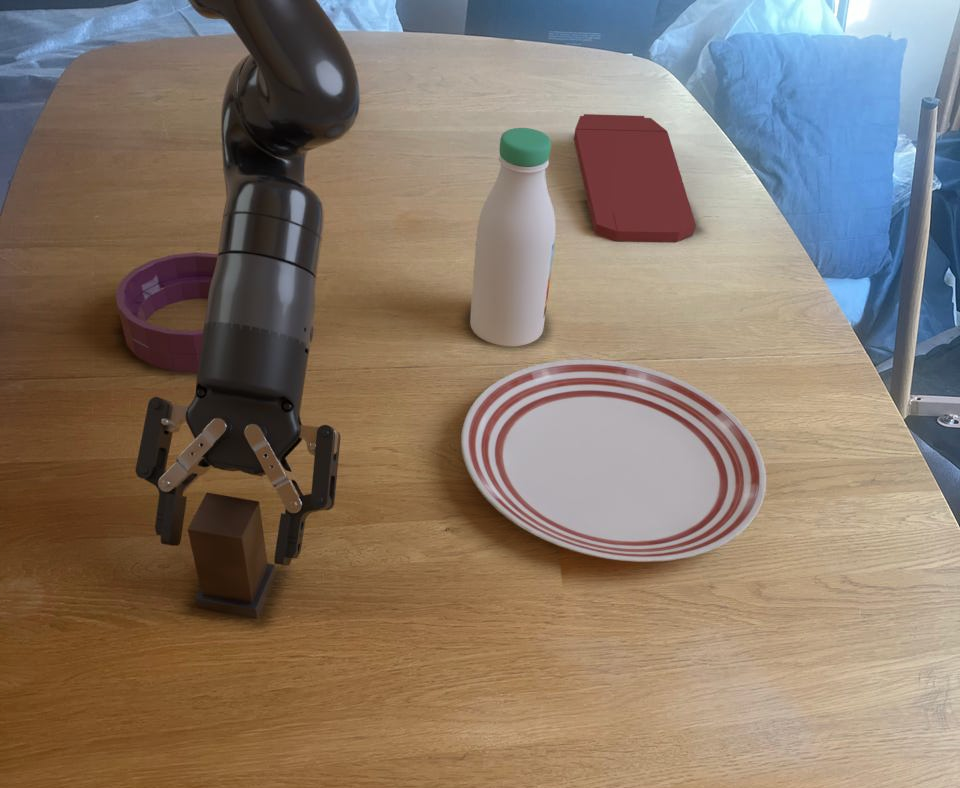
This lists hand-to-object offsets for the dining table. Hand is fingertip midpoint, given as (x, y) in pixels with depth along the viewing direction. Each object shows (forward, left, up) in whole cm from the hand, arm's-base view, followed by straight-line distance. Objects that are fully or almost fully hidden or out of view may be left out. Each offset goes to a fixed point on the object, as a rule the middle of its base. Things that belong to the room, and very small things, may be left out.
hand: (226, 554), depth 73 cm
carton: (+38, +73, -6) cm, 83 cm away
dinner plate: (+31, +18, -6) cm, 36 cm away
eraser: (0, +1, -6) cm, 6 cm away
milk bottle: (+22, +40, -6) cm, 46 cm away
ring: (-9, +36, -6) cm, 38 cm away
